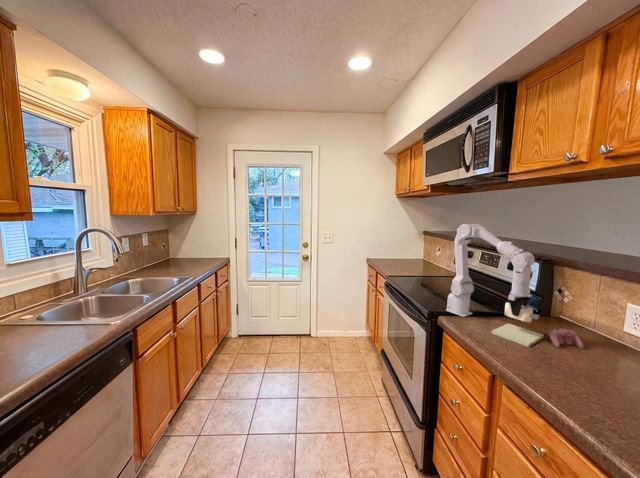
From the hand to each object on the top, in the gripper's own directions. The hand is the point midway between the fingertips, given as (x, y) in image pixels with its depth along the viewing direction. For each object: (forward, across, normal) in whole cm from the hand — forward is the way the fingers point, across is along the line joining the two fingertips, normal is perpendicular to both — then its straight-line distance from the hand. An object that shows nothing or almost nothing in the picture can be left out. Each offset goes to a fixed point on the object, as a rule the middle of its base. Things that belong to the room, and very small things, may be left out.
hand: (517, 314), depth 114 cm
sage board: (+8, -1, -1) cm, 9 cm away
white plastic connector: (+2, 0, 0) cm, 2 cm away
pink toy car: (+9, +6, -14) cm, 18 cm away
